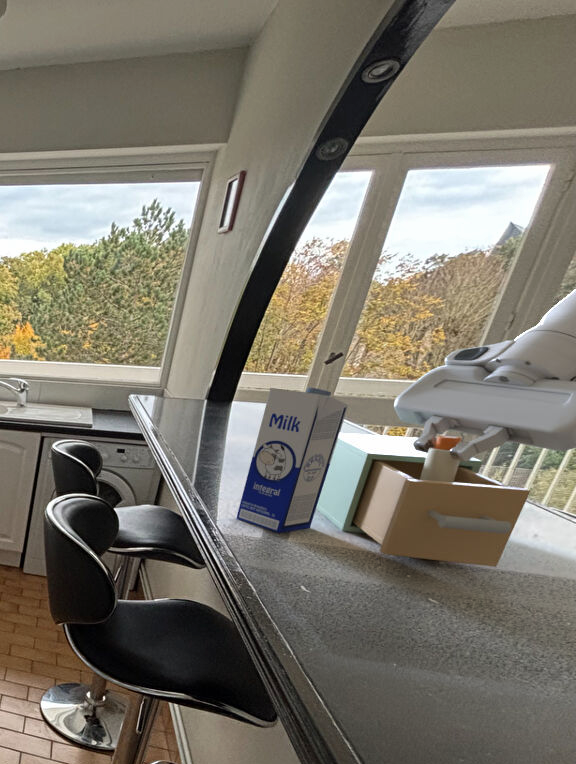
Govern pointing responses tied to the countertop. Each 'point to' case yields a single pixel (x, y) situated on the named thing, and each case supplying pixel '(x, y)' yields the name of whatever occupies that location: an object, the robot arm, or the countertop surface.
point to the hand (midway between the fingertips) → (437, 452)
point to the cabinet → (363, 472)
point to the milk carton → (291, 459)
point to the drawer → (438, 513)
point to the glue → (441, 460)
